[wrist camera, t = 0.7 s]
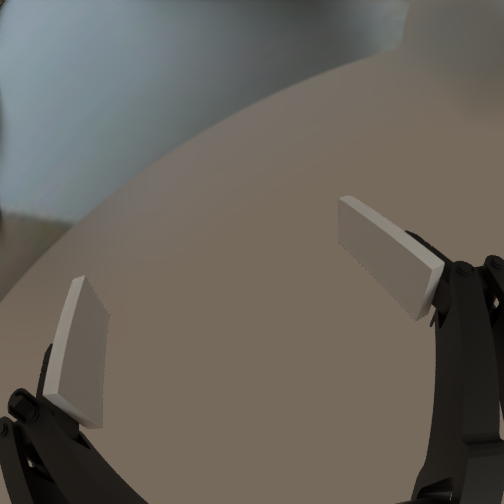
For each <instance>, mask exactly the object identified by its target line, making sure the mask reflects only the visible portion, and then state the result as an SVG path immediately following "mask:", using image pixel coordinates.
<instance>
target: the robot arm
mask: <svg viewBox="0 0 504 504" xmlns="http://www.w3.org/2000/svg"><path fill="white" fill-rule="evenodd" d="M338 214H339V244H340V245H341V246H342V247H344V249H346V250H347V251H348V252H349V253H350V254H351V255H352V256H353V257H354V258H355V259H356V260H357V261H358V262H359V263H360V264H361V265H362V266H363V267H364V268H365V269H366V270H367V271H368V272H369V273H370V274H371V275H372V276H373V277H374V278H375V279H376V280H377V281H378V282H379V283H380V284H381V285H382V286H383V287H384V288H385V289H386V290H387V291H388V292H389V293H390V295H392V296H393V298H394V299H395V300H396V301H397V302H398V303H399V304H400V305H401V306H402V307H403V308H404V309H405V310H406V312H407V313H408V314H409V315H410V316H411V317H412V318H413V319H414V320H415V321H417V320H419V319H421V318H422V317H424V316H426V315H427V314H428V313H429V310H430V307H431V304H432V305H434V307H435V308H436V310H435V313H434V315H433V318H432V320H431V323H430V327H432V325H433V323H434V321H435V337H436V372H435V393H434V406H433V416H432V424H431V432H430V439H429V445H428V451H427V456H426V460H425V463H424V466H423V467H422V469H421V470H420V472H419V474H418V477H417V479H416V483H415V486H414V490H413V494H412V497H411V501H406V502H401V503H397V504H501V501H502V496H503V491H504V440H502V439H501V438H500V435H499V425H500V424H499V423H500V413H499V411H500V408H499V407H500V405H501V409H502V414H503V419H504V260H503V259H502V258H500V257H499V256H495V255H490V256H487V257H486V259H485V262H484V265H483V266H480V267H473V266H472V265H471V264H469V263H467V262H464V261H456V262H452V261H451V260H449V259H448V258H447V257H445V256H444V255H443V254H442V253H440V252H439V251H438V250H437V249H435V248H434V247H433V246H431V245H430V244H429V243H427V242H425V241H424V240H423V239H422V238H421V237H419V236H418V235H417V234H414V233H411V232H409V231H403V230H401V229H400V228H399V227H397V226H396V225H394V224H393V223H392V222H390V221H389V220H387V219H386V218H384V217H383V216H382V215H380V214H379V213H377V212H376V211H374V210H373V209H371V208H370V207H368V206H367V205H365V204H364V203H362V202H361V201H359V200H358V199H356V198H354V197H353V196H351V195H348V196H344V197H340V198H338ZM496 298H497V299H498V301H499V305H498V307H497V308H496V306H495V305H494V302H495V300H496ZM109 317H110V314H109V313H108V312H107V310H106V308H105V307H104V305H103V304H102V302H101V300H100V299H99V297H98V296H97V294H96V292H95V291H94V289H93V287H92V286H91V284H90V282H89V281H88V279H87V277H86V275H84V276H81V277H78V278H75V279H73V281H72V284H71V287H70V290H69V293H68V296H67V299H66V302H65V305H64V308H63V311H62V314H61V318H60V321H59V325H58V328H57V332H56V335H55V339H54V343H53V344H50V346H49V347H48V349H47V351H46V353H45V356H44V360H43V365H42V369H41V373H40V378H39V383H38V388H37V393H36V398H35V397H34V396H32V395H31V394H30V393H29V392H28V391H27V390H25V389H23V388H20V389H17V390H16V391H15V392H13V394H12V395H11V397H10V399H9V402H8V413H9V414H11V415H12V416H13V417H14V418H16V419H17V421H16V422H13V421H12V420H11V419H9V418H8V417H5V416H4V417H2V418H0V465H1V469H2V472H3V477H4V480H5V484H6V487H7V491H8V494H9V497H10V500H11V503H12V504H148V503H147V502H146V501H145V500H144V499H143V498H142V497H141V496H139V495H138V494H137V493H136V492H135V491H134V490H133V489H132V488H131V487H130V486H129V485H128V484H127V483H126V482H125V481H124V480H123V479H122V478H121V477H120V476H119V475H118V474H117V473H116V472H115V471H114V470H113V468H112V467H111V466H110V465H109V464H108V463H107V462H106V461H105V460H104V458H103V457H102V456H101V455H100V454H99V453H98V451H97V450H96V449H95V448H94V446H93V445H92V444H91V443H90V442H89V440H88V439H87V438H86V436H85V435H84V434H83V433H82V432H81V431H79V423H80V424H81V425H82V426H84V427H85V428H87V429H97V428H103V414H102V413H103V381H104V364H105V352H106V342H107V333H108V324H109ZM499 400H500V405H499ZM28 460H29V461H30V462H31V463H32V467H30V466H29V463H28ZM451 494H452V496H451ZM450 497H451V500H450Z"/></svg>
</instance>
